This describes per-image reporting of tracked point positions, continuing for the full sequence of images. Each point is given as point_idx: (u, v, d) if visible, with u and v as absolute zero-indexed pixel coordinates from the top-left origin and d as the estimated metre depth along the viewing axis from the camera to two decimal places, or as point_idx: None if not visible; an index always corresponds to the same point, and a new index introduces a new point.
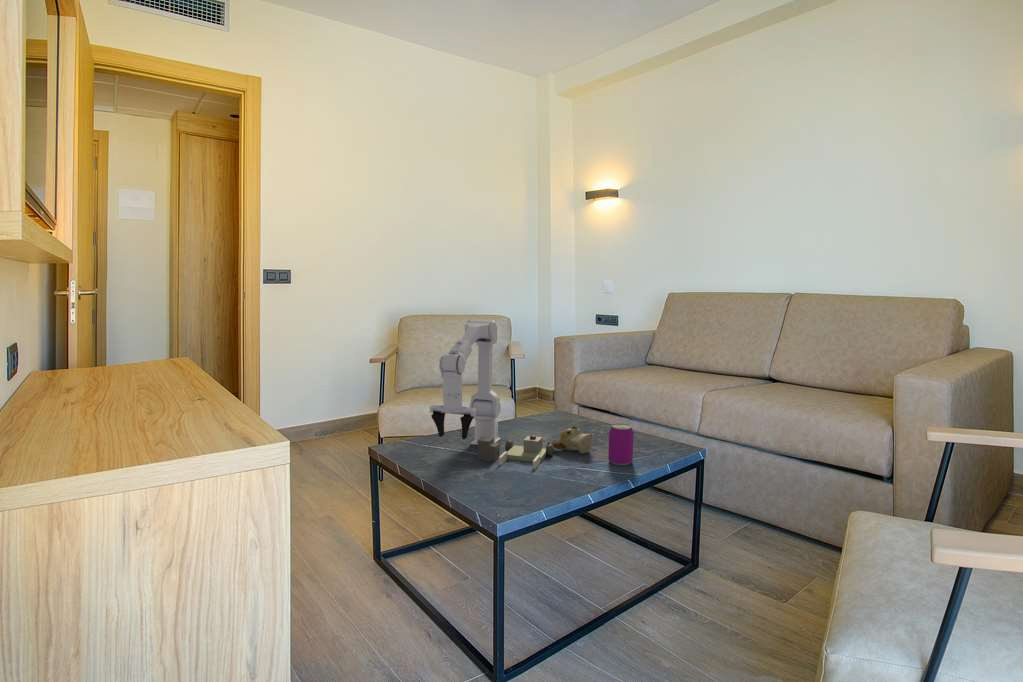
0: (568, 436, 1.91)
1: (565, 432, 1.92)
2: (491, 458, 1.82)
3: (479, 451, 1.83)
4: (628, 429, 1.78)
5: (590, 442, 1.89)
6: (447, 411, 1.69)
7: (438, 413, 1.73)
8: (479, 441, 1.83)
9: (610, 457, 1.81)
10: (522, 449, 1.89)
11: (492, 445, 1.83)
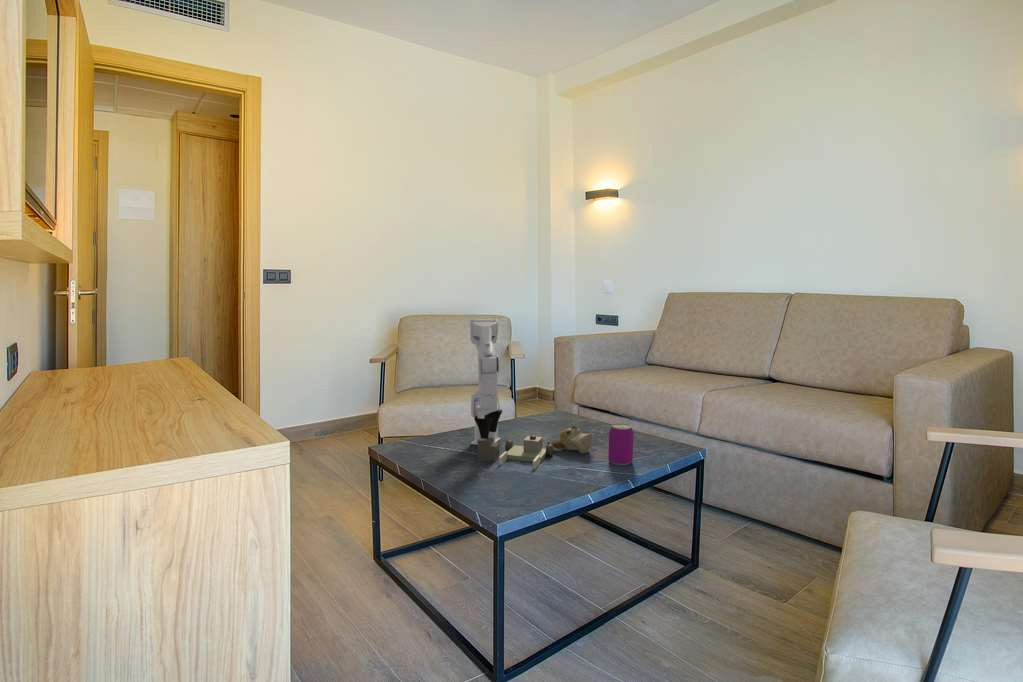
0: (567, 436, 1.91)
1: (565, 432, 1.93)
2: (491, 458, 1.82)
3: (479, 451, 1.83)
4: (628, 429, 1.78)
5: (590, 442, 1.89)
6: (477, 407, 1.84)
7: None
8: (479, 441, 1.83)
9: (610, 457, 1.81)
10: (522, 449, 1.89)
11: (492, 445, 1.83)
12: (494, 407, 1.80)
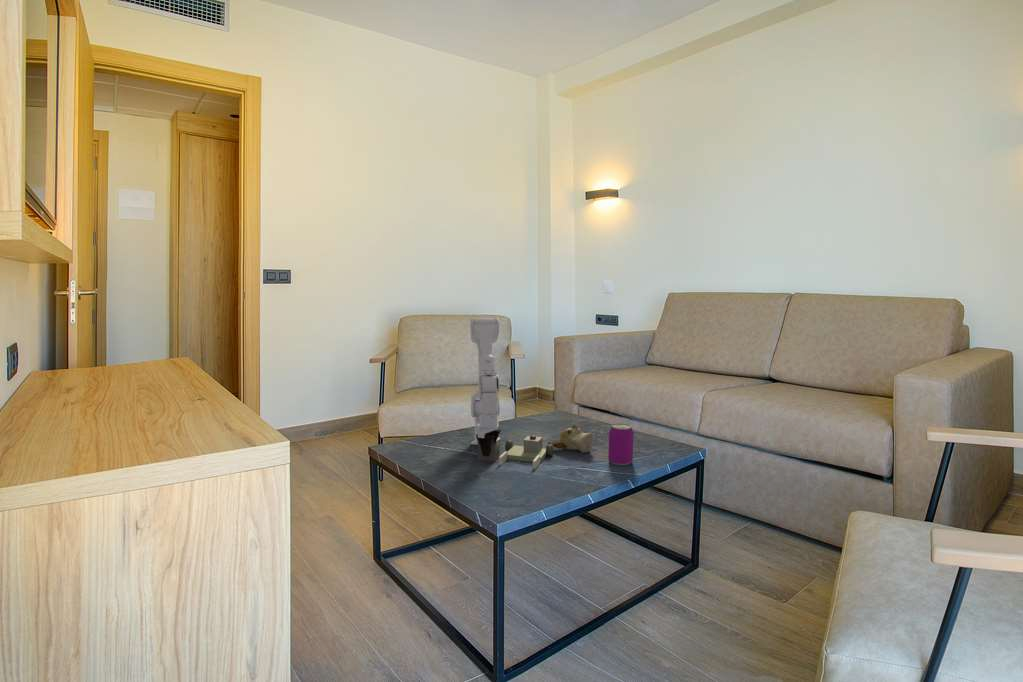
0: (568, 436, 1.92)
1: (565, 431, 1.93)
2: (491, 457, 1.82)
3: (479, 451, 1.83)
4: (628, 429, 1.78)
5: (591, 441, 1.90)
6: None
7: None
8: None
9: (610, 457, 1.81)
10: (522, 449, 1.89)
11: (492, 445, 1.83)
12: (494, 426, 1.81)
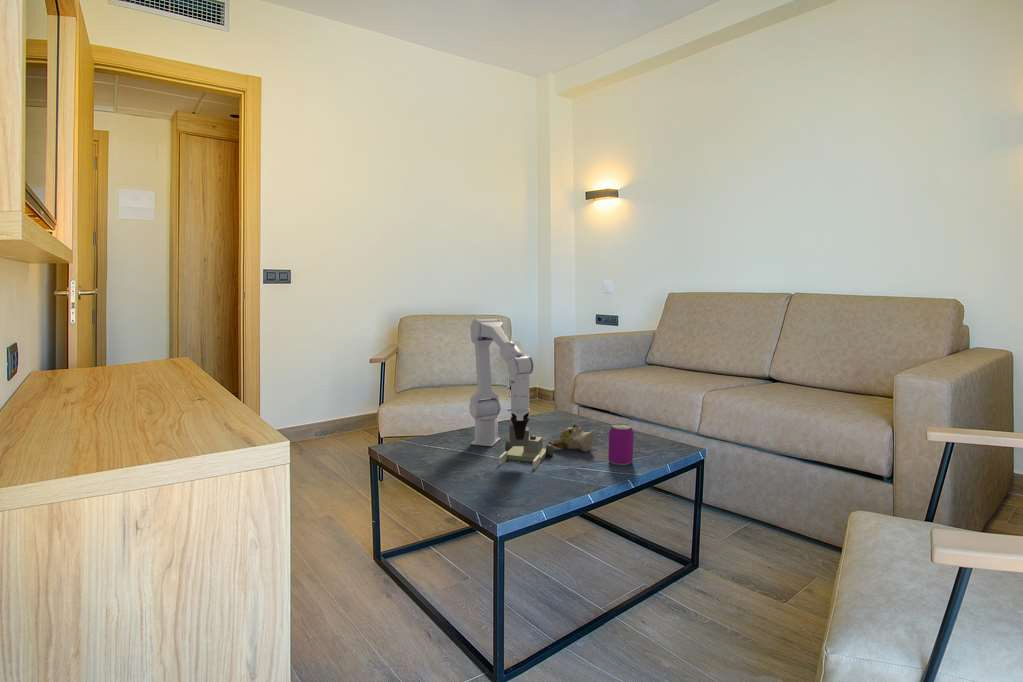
0: (570, 435, 1.92)
1: (566, 431, 1.94)
2: (525, 442, 1.77)
3: (511, 437, 1.77)
4: (628, 429, 1.78)
5: (592, 439, 1.91)
6: None
7: None
8: (511, 426, 1.76)
9: (610, 457, 1.81)
10: (522, 449, 1.89)
11: None
12: (528, 408, 1.76)
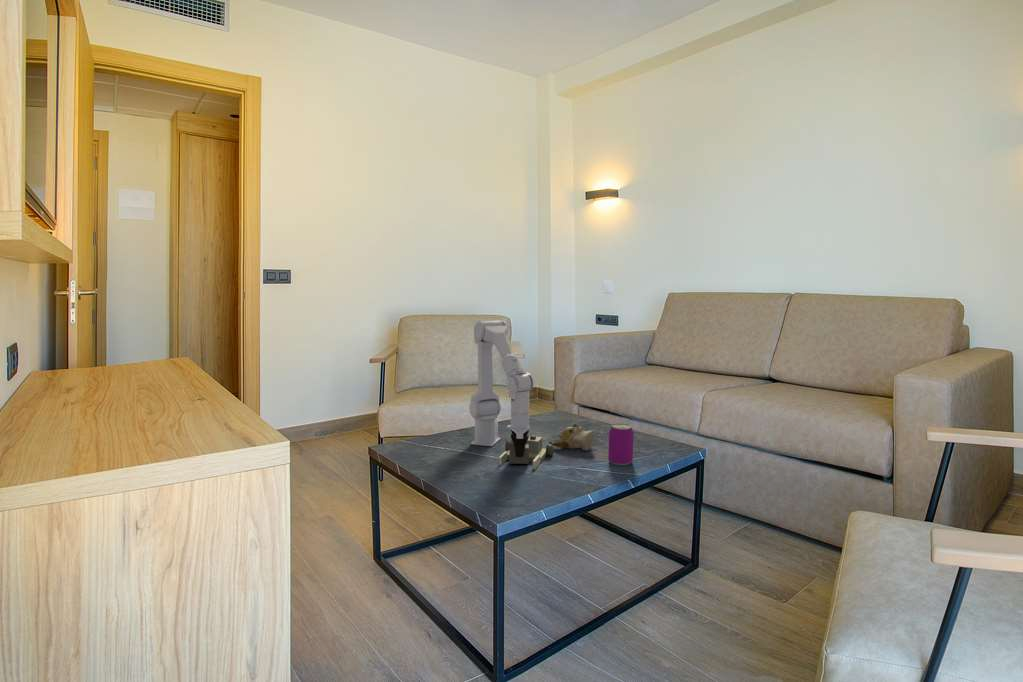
0: (570, 435, 1.93)
1: (567, 430, 1.94)
2: (524, 460, 1.78)
3: (511, 454, 1.77)
4: (628, 429, 1.78)
5: (593, 438, 1.92)
6: (507, 426, 1.78)
7: None
8: (511, 444, 1.77)
9: (610, 457, 1.81)
10: None
11: None
12: (527, 425, 1.77)
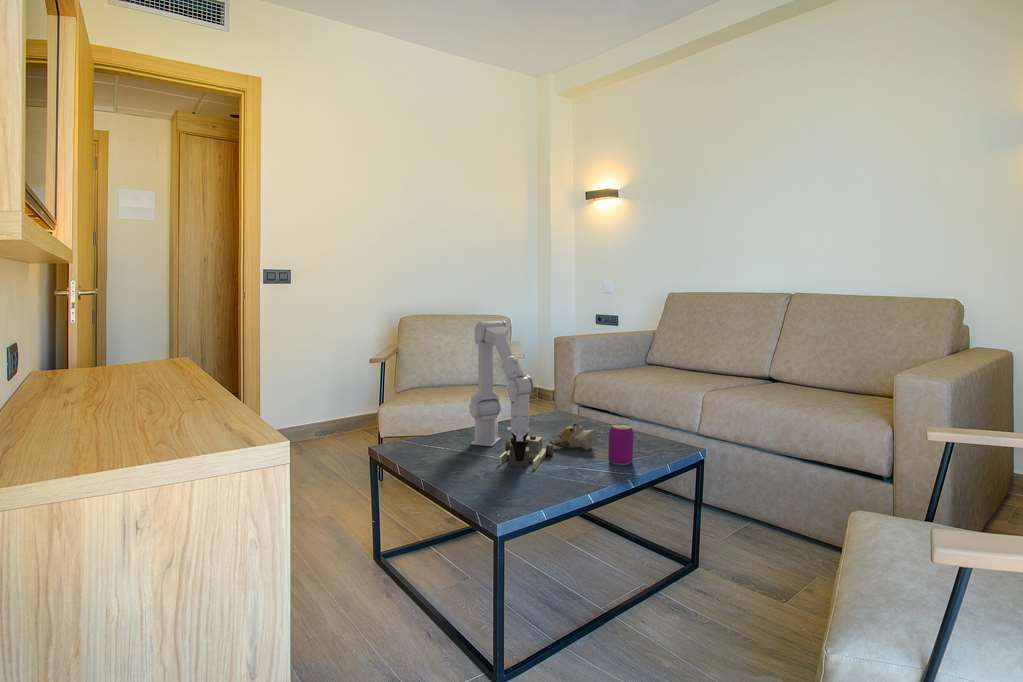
0: (571, 434, 1.94)
1: (567, 430, 1.95)
2: (524, 463, 1.78)
3: (511, 457, 1.78)
4: (628, 429, 1.78)
5: (593, 437, 1.93)
6: (507, 429, 1.78)
7: None
8: (511, 447, 1.77)
9: (610, 457, 1.81)
10: None
11: None
12: (527, 428, 1.77)
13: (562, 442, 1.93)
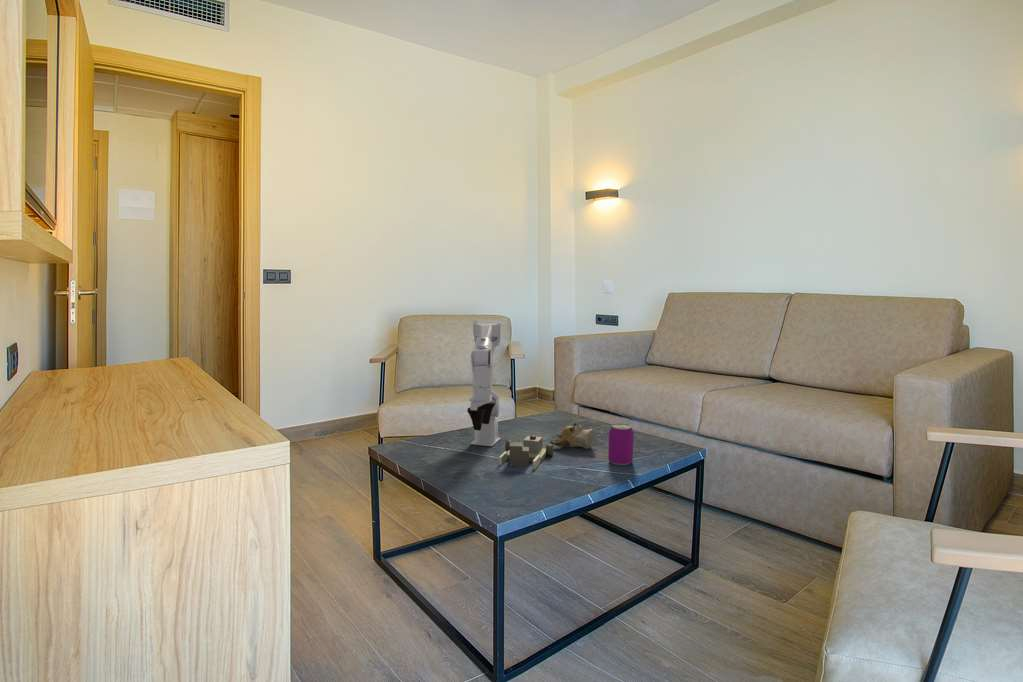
0: (572, 433, 1.94)
1: (568, 429, 1.95)
2: (524, 463, 1.78)
3: (511, 457, 1.77)
4: (628, 429, 1.78)
5: (594, 437, 1.94)
6: (470, 399, 1.86)
7: None
8: (511, 447, 1.77)
9: (610, 457, 1.81)
10: None
11: (524, 449, 1.78)
12: (487, 399, 1.82)
13: (563, 442, 1.93)
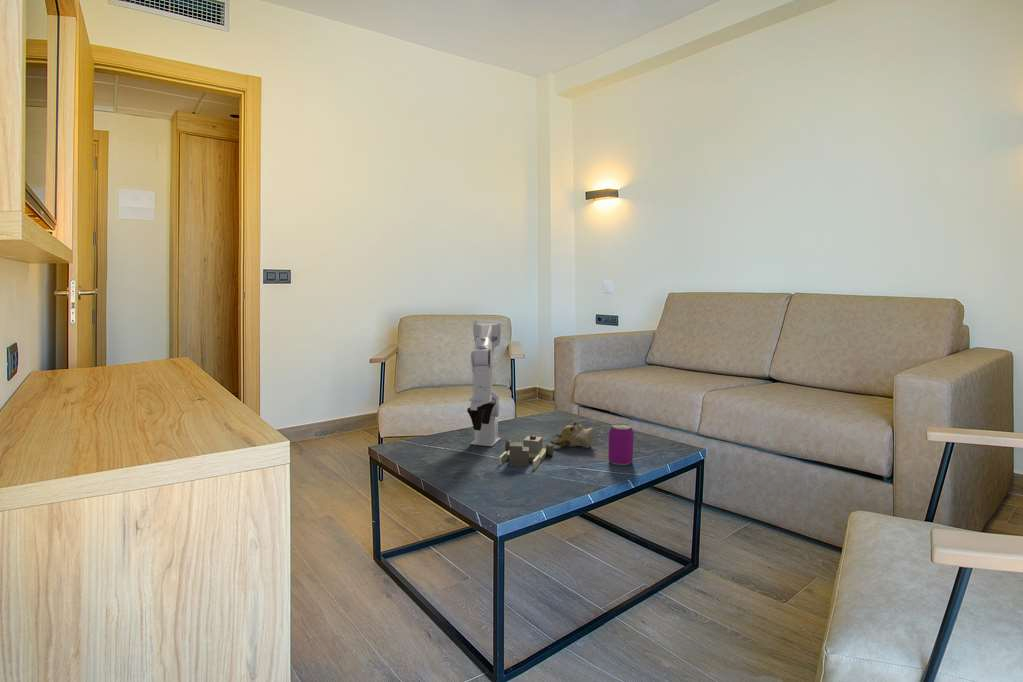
0: (572, 433, 1.95)
1: (568, 429, 1.96)
2: (524, 463, 1.78)
3: (511, 457, 1.77)
4: (628, 429, 1.78)
5: None
6: (470, 399, 1.86)
7: None
8: (511, 447, 1.77)
9: (610, 457, 1.81)
10: None
11: (524, 449, 1.78)
12: (487, 399, 1.82)
13: (563, 441, 1.94)
